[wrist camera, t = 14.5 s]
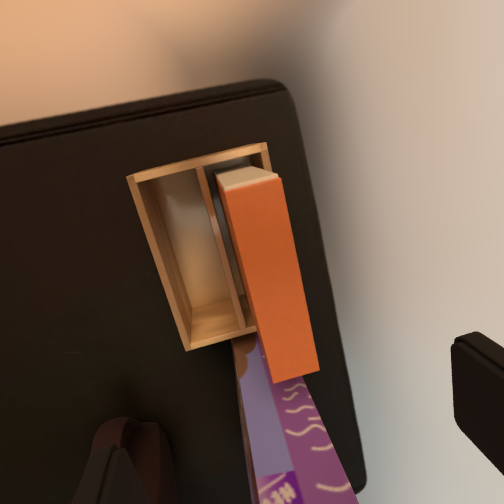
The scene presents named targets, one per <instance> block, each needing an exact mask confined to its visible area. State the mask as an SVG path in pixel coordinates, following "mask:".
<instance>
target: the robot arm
mask: <svg viewBox="0 0 504 504" xmlns="http://www.w3.org/2000/svg"><path fill="white" fill-rule="evenodd" d="M451 364H452V385H453V405H454V418H455V421H456V423H457V425H458V427H459V428H460V429H461V431H462V432H463V433H465V435H466V436H467V437H468V438H469V439H470V440H471V441H472V442H473V443H474V444H475V445H476V446H477V448H478V449H479V450H480V451H481V452H482V453H483V454H484V455H485V456H486V457H487V458H488V459H489V460H490V461H491V462H492V464H493V465H494V466H495V467H496V468H497V469H498V470H499V471H500V472H501V473H502V474H503V475H504V348H503V347H502V346H500V345H499V344H497V343H496V342H494V341H492V340H491V339H489V338H488V337H486V336H485V335H483V334H482V333H480V332H472V333H468V334H465V335H462V336H459V337H456V338H455V340H454V344H452V346H451ZM73 504H151V502H150V500H149V498H148V496H147V493H146V491H145V489H144V487H143V485H142V483H141V481H140V478H139V476H138V474H137V472H136V470H135V468H134V466H133V464H132V461H131V459H130V457H129V455H128V453H127V451H126V449H125V448H120V449H119V447H118V446H117V445H116V444H113V445H110V446H107V447H104V448H100V449H97V450H94V451H92V452H91V454H90V456H89V459H88V461H87V464H86V467H85V470H84V473H83V476H82V479H81V482H80V485H79V488H78V491H77V494H76V497H75V500H74V503H73Z"/></svg>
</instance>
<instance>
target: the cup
mask: <svg viewBox="0 0 504 504" xmlns="http://www.w3.org/2000/svg"><path fill="white" fill-rule="evenodd" d="M113 444H116V445H117V446H118V447H119V449H120V448H125V449H126V451H127V453H128V455H129V457H130V459H131V461H132V464H133V466H134V468H135V470H136V472H137V474H138V476H139V478H140V481H141V483H142V485H143V487H144V489H145V491H146V493H147V496H148V498H149V500H150V502H151V504H178V494H177V486H176V478H175V471H174V464H173V459H172V454H171V450H170V446H169V443H168V439H167V436H166V434H165V432H164V430H163V428H162V427H161V426H160V425H159V423H156V422H139V421H138V420H137V419H135V418H132V417H117V418H114V419H112V420H109V421H107V422H105V423H104V424H102V425H101V426H100V427H99V429H98V430H97V432H96V434H95V436H94V439H93V443H92V448H91V452H92V451H94V450H97V449H100V448H104V447H107V446H110V445H113ZM77 491H78V490H77ZM76 494H77V492H76ZM76 494H75V495H74V497H73V499H72V502H71V504H73V503H74V500H75V497H76Z"/></svg>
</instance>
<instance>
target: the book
mask: <svg viewBox="0 0 504 504" xmlns="http://www.w3.org/2000/svg"><path fill="white" fill-rule="evenodd" d="M213 175H214V178H215V182H216V186H217V190H218V194H219V197H220V201H221V205H222V209H223V213H224V217H225V220H226V224H227V228H228V232H229V236H230V239H231V243H232V247H233V251H234V255H235V259H236V262H237V266H238V270H239V274H240V278H241V281H242V285H243V289H244V292H245V295H246V298H247V301H248V304H249V308H250V311H251V314H252V317H253V320H254V324H255V327H256V330H257V333H258V336H259V340H260V343H261V346H262V349H263V352H264V356H265V359H266V362H267V365H268V368H269V372H270V375H271V378H272V381H273V384H275V383H278V382H281V381H285V380H288V379H292V378H295V377H298V376H302V375H305V374H308V373H312V372H315V371H319V370H320V369H319V364H318V359H317V354H316V349H315V344H314V339H313V334H312V329H311V324H310V319H309V314H308V309H307V304H306V299H305V294H304V289H303V284H302V279H301V274H300V269H299V264H298V259H297V255H296V250H295V245H294V240H293V235H292V230H291V225H290V220H289V215H288V210H287V205H286V200H285V195H284V190H283V185H282V180H281V178H279V177H278V174H276V173H273V172H269V171H266V170H263V169H260V168H256V167H253V166H250V165H247V164H244V163H242V164H238V165H234V166H229V167H225V168H221V169H217V170H214V171H213Z"/></svg>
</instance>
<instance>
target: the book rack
mask: <svg viewBox="0 0 504 504" xmlns="http://www.w3.org/2000/svg"><path fill="white" fill-rule="evenodd" d="M242 163H244V164H247V165H250V166H253V167H256V168H260V169H263V170H266V171H269V172H272V168H271V163H270V158H269V154H268V149H267V144H266V142H264V143H255V144H249V145H245V146H241V147H237V148H233V149H229V150H225V151H221V152H216V153H212V154H208V155H204V156H200V157H196V158H192V159H188V160H184V161H180V162H176V163H172V164H168V165H164V166H159V167H155V168H151V169H147V170H143V171H140V172H138V173H135V174H132V175H129V176H127V177H126V179H127V181H128V184H129V187H130V190H131V193H132V196H133V199H134V202H135V205H136V208H137V211H138V214H139V217H140V219H141V222H142V225H143V228H144V231H145V234H146V237H147V240H148V243H149V246H150V249H151V252H152V255H153V257H154V260H155V263H156V266H157V269H158V272H159V275H160V278H161V281H162V284H163V287H164V290H165V293H166V295H167V298H168V301H169V304H170V307H171V310H172V313H173V316H174V319H175V322H176V325H177V328H178V331H179V333H180V336H181V339H182V342H183V345H184V348H185V351H189V350H192V349H196V348H199V347H203V346H206V345H210V344H213V343H217V342H220V341H224V340H227V339H231V338H234V337H238V336H241V335H245V334H248V333H252V332H255V331H257V330H256V327H255V324H254V320H253V317H252V314H251V311H250V308H249V304H248V301H247V298H246V295H245V292H244V289H243V285H242V281H241V278H240V274H239V270H238V266H237V262H236V259H235V255H234V251H233V247H232V243H231V239H230V236H229V232H228V228H227V224H226V220H225V217H224V213H223V209H222V205H221V201H220V197H219V194H218V190H217V186H216V182H215V178H214V175H213V171H214V170H217V169H221V168H225V167H229V166H234V165H238V164H242Z"/></svg>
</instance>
